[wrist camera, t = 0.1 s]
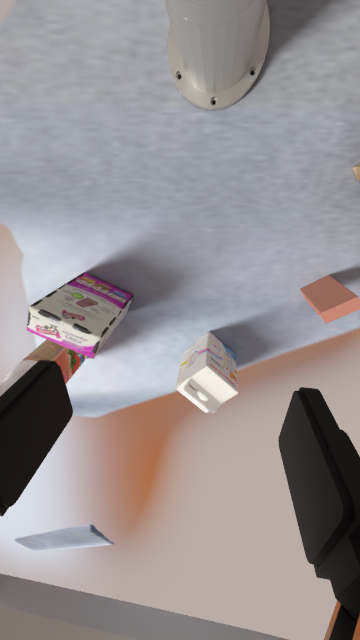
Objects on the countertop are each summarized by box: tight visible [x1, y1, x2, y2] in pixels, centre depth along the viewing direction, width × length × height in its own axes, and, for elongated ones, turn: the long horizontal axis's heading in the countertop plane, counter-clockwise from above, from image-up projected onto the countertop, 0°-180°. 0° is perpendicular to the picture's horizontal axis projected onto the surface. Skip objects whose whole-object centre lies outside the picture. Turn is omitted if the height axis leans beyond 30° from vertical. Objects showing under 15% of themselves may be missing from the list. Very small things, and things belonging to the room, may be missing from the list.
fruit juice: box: [0, 339, 87, 396], centre depth 45 cm, size 9×9×28 cm
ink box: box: [175, 332, 238, 413], centre depth 47 cm, size 9×8×13 cm
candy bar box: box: [27, 272, 134, 359], centre depth 42 cm, size 11×5×16 cm, turn 66°
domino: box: [300, 275, 360, 323], centre depth 38 cm, size 2×5×10 cm, turn 125°
